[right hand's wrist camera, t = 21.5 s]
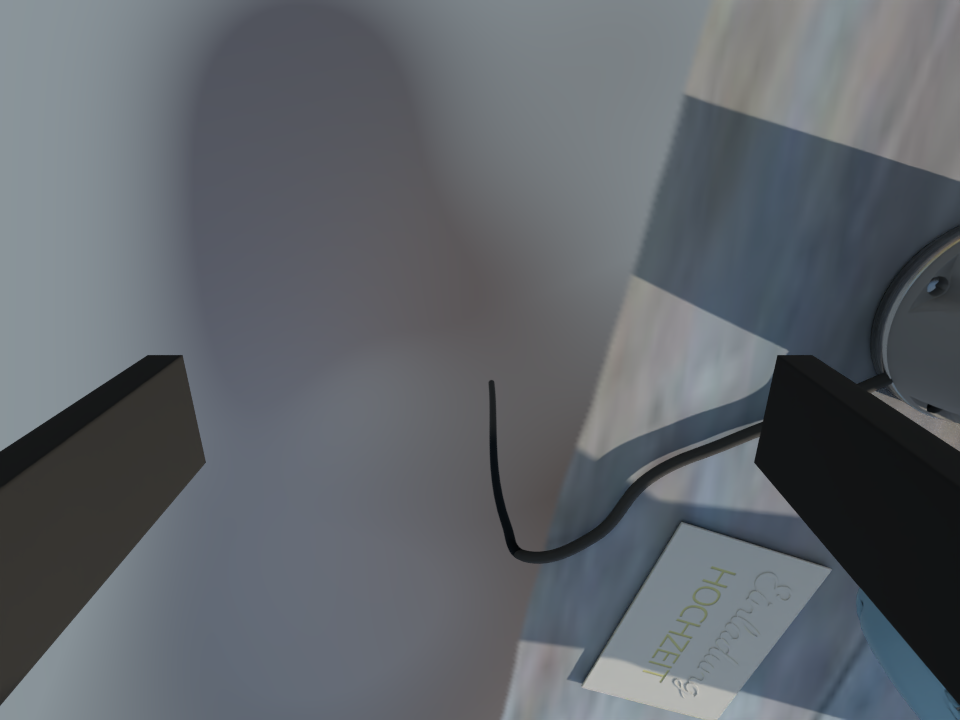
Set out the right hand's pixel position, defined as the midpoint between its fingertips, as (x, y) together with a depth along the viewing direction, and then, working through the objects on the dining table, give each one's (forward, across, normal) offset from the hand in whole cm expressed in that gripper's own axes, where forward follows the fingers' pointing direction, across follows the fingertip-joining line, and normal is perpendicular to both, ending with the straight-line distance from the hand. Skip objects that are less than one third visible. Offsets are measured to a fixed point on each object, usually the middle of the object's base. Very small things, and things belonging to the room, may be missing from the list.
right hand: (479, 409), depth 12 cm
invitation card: (+28, -21, +38) cm, 51 cm away
